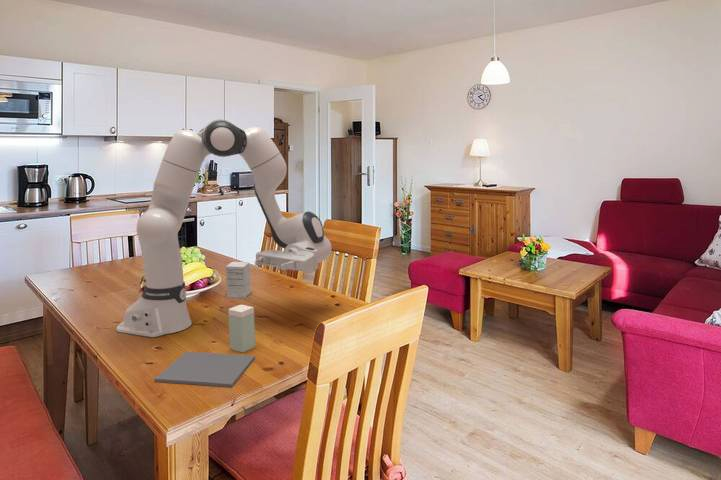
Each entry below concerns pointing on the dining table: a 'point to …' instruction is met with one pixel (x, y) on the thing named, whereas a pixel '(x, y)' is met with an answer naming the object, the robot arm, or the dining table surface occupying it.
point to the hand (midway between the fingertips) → (268, 265)
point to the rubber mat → (206, 369)
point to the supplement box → (238, 279)
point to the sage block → (241, 328)
